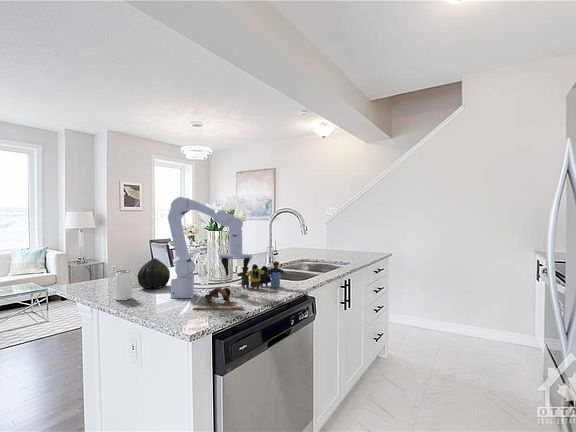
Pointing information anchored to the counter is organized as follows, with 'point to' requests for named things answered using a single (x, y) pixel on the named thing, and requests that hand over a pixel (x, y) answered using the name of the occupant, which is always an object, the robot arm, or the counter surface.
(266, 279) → the doll family
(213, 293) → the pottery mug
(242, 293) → the felt mat
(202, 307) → the counting strip
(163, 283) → the squash
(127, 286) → the can
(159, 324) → the counter surface
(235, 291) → the die
